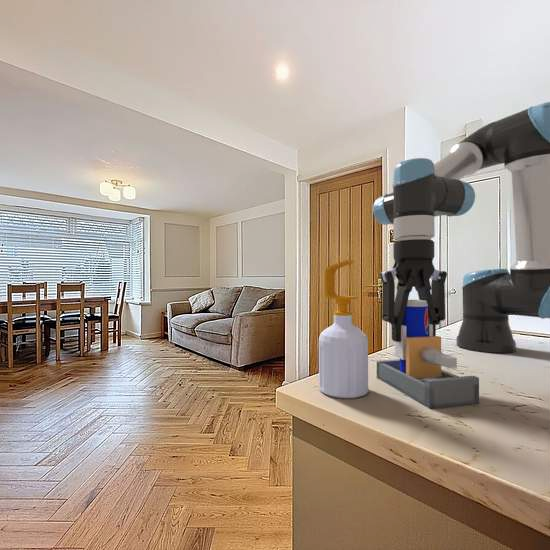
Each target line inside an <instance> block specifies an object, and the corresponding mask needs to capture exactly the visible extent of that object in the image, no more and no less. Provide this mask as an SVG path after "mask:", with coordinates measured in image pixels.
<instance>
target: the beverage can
mask: <svg viewBox="0 0 550 550" xmlns="http://www.w3.org/2000/svg"><path fill="white" fill-rule="evenodd" d="M402 325H405V326H406V337H428V304H427V301H423V300H419V299H408V302H407V306H406V311H405V315H404V319H403V323H402ZM399 359H400V358H399ZM400 371H401V372H403V373H405V374H406V360H402V359H400ZM416 379H425V378H416Z"/></svg>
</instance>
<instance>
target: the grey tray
mask: <svg viewBox="0 0 550 550" xmlns="http://www.w3.org/2000/svg"><path fill="white" fill-rule="evenodd" d="M376 378H377V379H378V380H381V381H382V382H384V383H385V384H387V385H389V386H391V387H393V388H394V389H395V390H397V391H399V392H401V393H402V394H404V395H405V396H407V397H409V398H411V399H413V400H414V401H416V402H418V403H419V404H421V405H422V406H424V407H426V408H428V409H439V408H450V407H461V406H471V405H480V377H478V376H475V375H465V376H460V375H457V374H454V373H451V372H449V371H447V370H444V369H442V368H441V377H427V378H425V379H416V378H413V377H411V376H409V375H407V374H405V373H403V372H401V371H400V358H398V359H397V358H396V359H380V360H379V359H378V360H376Z"/></svg>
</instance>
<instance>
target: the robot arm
mask: <svg viewBox="0 0 550 550" xmlns="http://www.w3.org/2000/svg"><path fill="white" fill-rule="evenodd" d="M501 164H504V169H506V170H507V171H509V172H510V173H511V184H512V185H511V186H512V201H513V219H514V220H513V221H514V222H513V223H514V238H515V240H514V241H515V255H516V256H515V258H516V259H515V260H516V261H515V262H514V263H513V264H512V265H511V266H510V268H509V270H508V269H507V268H494V269H484V270H476V271H470V272H467V273H466V274H464V275H463V278H462V285H461V289H462V322H461V325H460V328H459V331H458V335H457V336H456V346H458V347H459V348H463V349H466V350H471V351H478V352H485V353H494V354H495V353H497V354H498V353H501V354H502V353H505V354H506V353H507V354H508V353H513V352H516V351H517V343H516V340H515V339H514V337H513V331H512V329H511V327H510V322H509V321H510V319H509V315H510V316H521V317H532V318H540V319H541V320H543V319H544V320H545V319H550V101H547V102H546V101H545V102H543V103H541V104H537V105H534V106H529V107H528V108H525V109H524V110H521V111H519V112H516V113H514V114H513V113H512V114H511V115H508V116H506V117H503V118H501V119H499V120H495V121H493V122H490V123H488V124H486V125H484V126H482V127H480V128H478V129H477V130H476V131H474V132H473V133H471V134H469V135H468V136H467V137H465V138H464V139H461V141H460V142H458V143H457V144H455V145H453V147H452V148H451V149H450V150H449V153H448V154H447V155H445V156H444V157H443V158H441V159H440V160H438V161H437V162H436V163H434V162H433V160H432V159H430V158H427V157H426V158H424V157H418V158H417V157H415V158H409V159H406V160H403V161H400V162H399V163H398V164H396V165H395V167H394V169H393V178H392V179H393V181H392V191H393V192H391V193H386V194H384V195H382V196H379V197H378V198H376V199H375V201H374V203H373V206H372V213H373V216H374V218H375V220H376V221H377V222H378V223H379V224H381V225H384V226H385V225H386V226H387V225H393V239H394V240H396V241H394V242H393V253H392V254H393V260H394V264H393V266H392V269H388V270H385V271H384V270H383V271H382V270H381V272H379V277H380V280H381V283H382V292H381V295H382V296H381V297H382V298H381V299H382V300H381V308H382V309H381V320H382V321H383V322H387V323H389V324H390V326H391V340H392V341H393V342H394V356H395V357H396V359H397V358H398V359H402V360H406V326H405V325H402V323H403V319H404V315H405V311H406V306H407V302H408V300H409V297H410V293H411V292H412V290H413V288H414V289H415V291H416V292H417V296H418V300H423V301H427V304H428V336H437V335H436V334H437V332H436V331H437V329H436V327H437V325H440V323H441V321H443V322H444V321H445V319H446V291H445V290H446V289H445V287H446V286H445V285H446V284H445V282H446V279H447V276H448V273H447V271H446V270H445V271H444V270H441V271H440V270H439V269H435V264H434V263H433V261H434V258H435V241H434V240H432V239H433V238H435V233H436V231H435V230H436V229H435V217H441V216H447V217H450V218H451V217H460V216H463V215H465V214H466V213H468V212H469V211H470V210H471V209H472V207H473V206H474V203H475V201H476V192H475V189H474V187H473V186H472V185H471V184H470V183H468V182H466V181H463V180H461V179H463V178H465V177H467V176H471V175H474V174H475V173H477V172H478V171H480V170H484V169H487V168H490V167H493V166H496V165H501ZM509 271H510V272H509ZM396 279H397V284H396V285H395V283H396V282H395V280H396ZM430 279H431V280H430ZM395 288H396V290H395ZM395 291H396V294H395Z"/></svg>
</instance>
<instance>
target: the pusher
mask: <svg viewBox="0 0 550 550" xmlns="http://www.w3.org/2000/svg"><path fill="white" fill-rule="evenodd" d="M457 361H458V359H457V357H454V356H452V355H451V356H450V355H449V354H445V353H443V352H442V336H438V335H436V336H428V337H406V374H407V375H409V376H411V377H413V378H427V377H441V369H442V367H443V368H444V367H445V368H447V369H455V368H456V369H457V368H458V367H457V366H458V365H457V364H458V362H457Z"/></svg>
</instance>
